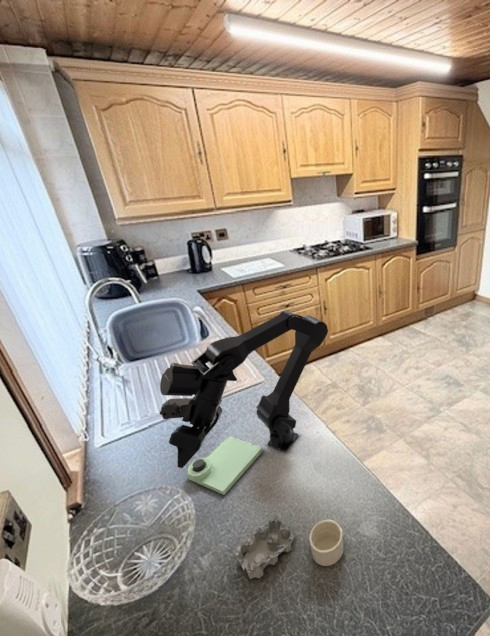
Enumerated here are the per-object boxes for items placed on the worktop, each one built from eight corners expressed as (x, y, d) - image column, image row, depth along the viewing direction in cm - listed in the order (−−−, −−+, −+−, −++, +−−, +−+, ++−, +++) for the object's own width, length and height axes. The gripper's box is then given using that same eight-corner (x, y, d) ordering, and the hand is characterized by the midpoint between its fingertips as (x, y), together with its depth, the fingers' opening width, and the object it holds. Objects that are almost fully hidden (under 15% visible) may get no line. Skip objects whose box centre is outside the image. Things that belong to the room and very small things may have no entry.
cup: (322, 529, 76) (320, 515, 74) (349, 541, 74) (347, 526, 72) (306, 559, 71) (303, 544, 69) (334, 573, 68) (332, 557, 66)
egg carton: (252, 586, 67) (247, 574, 65) (235, 557, 72) (230, 545, 70) (298, 546, 73) (295, 534, 72) (279, 522, 78) (276, 510, 77)
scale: (228, 438, 102) (226, 430, 101) (263, 451, 97) (261, 443, 96) (185, 479, 90) (182, 471, 89) (223, 496, 85) (220, 488, 84)
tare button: (200, 461, 92) (198, 457, 91) (207, 465, 90) (206, 460, 90) (191, 469, 89) (189, 465, 89) (199, 473, 88) (197, 469, 88)
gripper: (187, 373, 88) (168, 429, 89) (154, 399, 70) (131, 469, 71) (231, 386, 90) (211, 441, 91) (210, 415, 72) (186, 483, 73)
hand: (187, 456), depth 81 cm, fingers open, 9 cm apart
